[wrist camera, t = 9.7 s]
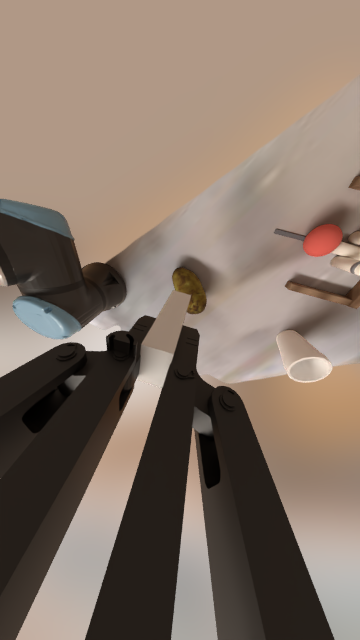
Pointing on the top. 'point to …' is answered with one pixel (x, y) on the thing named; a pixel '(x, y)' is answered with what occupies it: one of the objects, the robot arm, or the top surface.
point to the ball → (322, 240)
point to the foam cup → (302, 358)
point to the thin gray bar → (289, 235)
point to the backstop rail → (353, 299)
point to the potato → (190, 289)
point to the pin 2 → (354, 238)
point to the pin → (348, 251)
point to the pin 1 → (346, 264)
